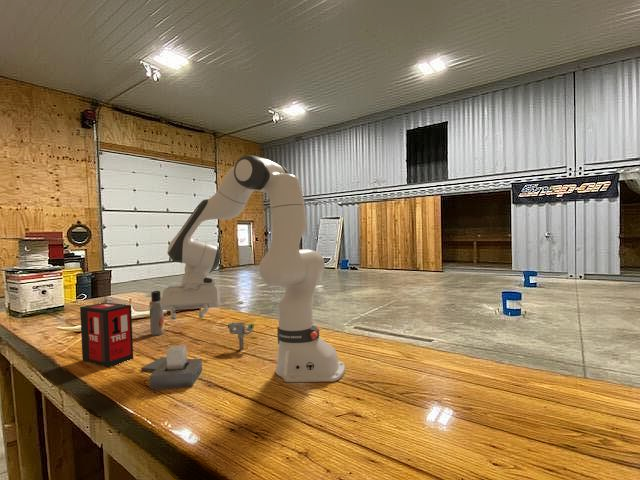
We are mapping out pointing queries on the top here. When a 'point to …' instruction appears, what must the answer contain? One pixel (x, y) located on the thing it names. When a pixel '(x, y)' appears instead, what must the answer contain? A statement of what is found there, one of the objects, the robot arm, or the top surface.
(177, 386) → the square socket
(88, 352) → the cleaning product box
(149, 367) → the rubber mat
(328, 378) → the robot arm
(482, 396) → the top surface
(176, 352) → the aluminium plug
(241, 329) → the mechanical component
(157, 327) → the lotion bottle
